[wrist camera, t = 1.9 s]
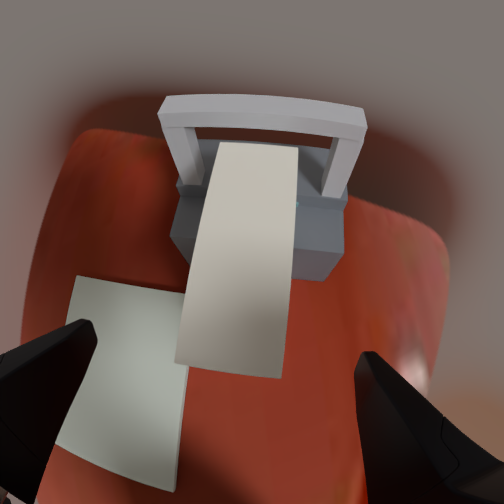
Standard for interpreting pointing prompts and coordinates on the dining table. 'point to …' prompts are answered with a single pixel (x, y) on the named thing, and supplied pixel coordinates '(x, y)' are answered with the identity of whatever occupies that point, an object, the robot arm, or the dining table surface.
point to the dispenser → (273, 118)
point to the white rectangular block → (242, 264)
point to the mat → (129, 382)
